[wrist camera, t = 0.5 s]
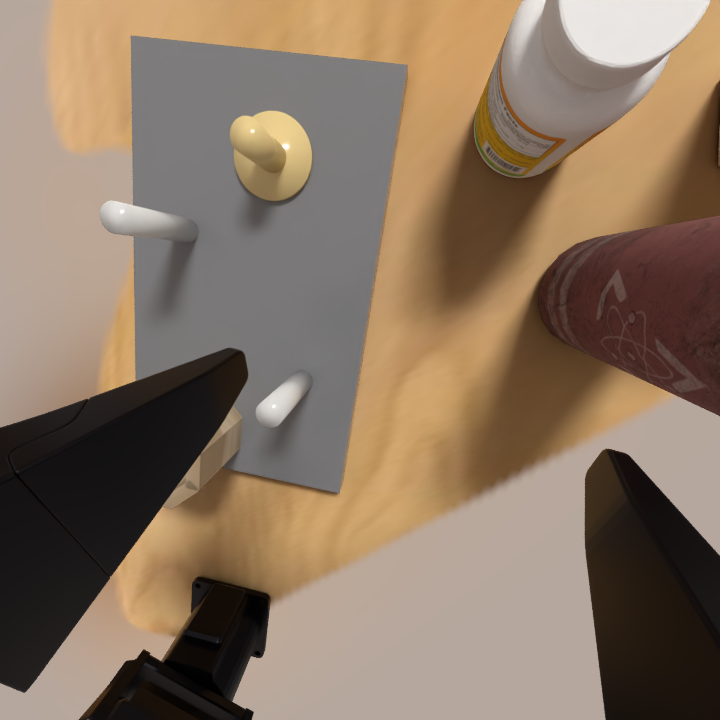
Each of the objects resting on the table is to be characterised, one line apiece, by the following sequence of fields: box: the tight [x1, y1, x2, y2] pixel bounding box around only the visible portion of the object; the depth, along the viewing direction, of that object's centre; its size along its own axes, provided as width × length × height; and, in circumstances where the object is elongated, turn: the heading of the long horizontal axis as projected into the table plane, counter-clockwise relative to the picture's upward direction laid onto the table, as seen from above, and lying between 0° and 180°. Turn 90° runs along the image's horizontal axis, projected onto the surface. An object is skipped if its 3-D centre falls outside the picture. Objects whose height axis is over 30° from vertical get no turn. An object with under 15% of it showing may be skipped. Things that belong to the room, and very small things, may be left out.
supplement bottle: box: [474, 0, 711, 178], centre depth 14 cm, size 5×5×10 cm
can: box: [538, 216, 720, 416], centre depth 14 cm, size 6×6×14 cm
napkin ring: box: [162, 406, 243, 509], centre depth 22 cm, size 6×6×5 cm
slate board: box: [100, 36, 408, 493], centre depth 20 cm, size 25×15×7 cm, turn 171°
